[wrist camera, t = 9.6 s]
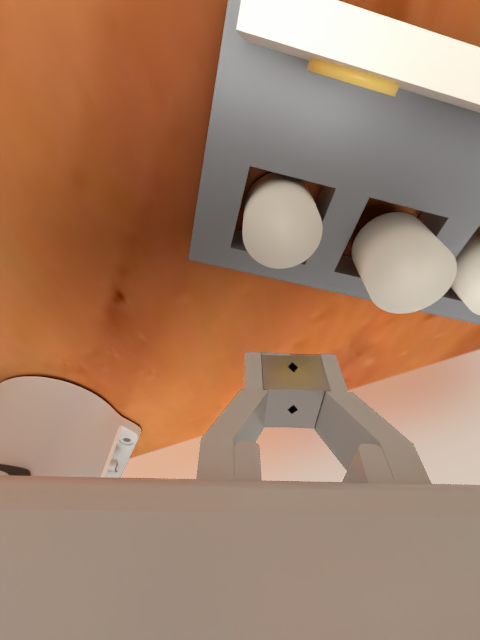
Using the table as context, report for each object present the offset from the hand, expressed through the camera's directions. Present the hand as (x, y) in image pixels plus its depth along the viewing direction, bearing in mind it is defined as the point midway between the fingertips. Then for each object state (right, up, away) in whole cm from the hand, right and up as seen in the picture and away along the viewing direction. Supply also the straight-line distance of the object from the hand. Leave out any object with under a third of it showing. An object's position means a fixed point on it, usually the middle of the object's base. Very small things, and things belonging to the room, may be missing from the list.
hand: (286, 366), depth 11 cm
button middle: (+8, +6, +9) cm, 14 cm away
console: (+8, +10, +10) cm, 17 cm away
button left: (+1, +9, +10) cm, 14 cm away
